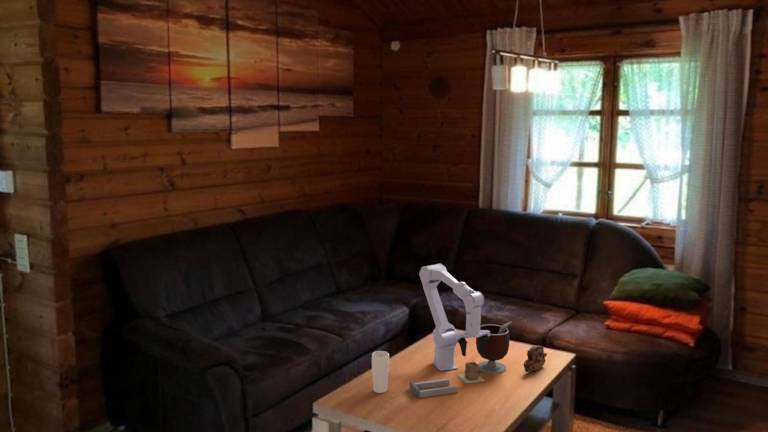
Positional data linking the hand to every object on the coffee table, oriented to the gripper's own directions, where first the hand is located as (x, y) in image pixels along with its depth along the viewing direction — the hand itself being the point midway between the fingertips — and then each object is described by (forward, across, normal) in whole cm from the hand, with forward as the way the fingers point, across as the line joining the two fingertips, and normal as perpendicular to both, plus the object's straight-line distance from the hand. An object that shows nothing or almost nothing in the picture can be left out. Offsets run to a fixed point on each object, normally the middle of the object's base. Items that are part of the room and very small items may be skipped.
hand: (472, 354), depth 255 cm
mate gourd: (+11, +14, +7) cm, 19 cm away
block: (+10, 0, 0) cm, 10 cm away
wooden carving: (+11, +30, 0) cm, 32 cm away
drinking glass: (+10, -39, 0) cm, 40 cm away
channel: (+10, -19, -6) cm, 22 cm away
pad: (+10, 0, 0) cm, 10 cm away
